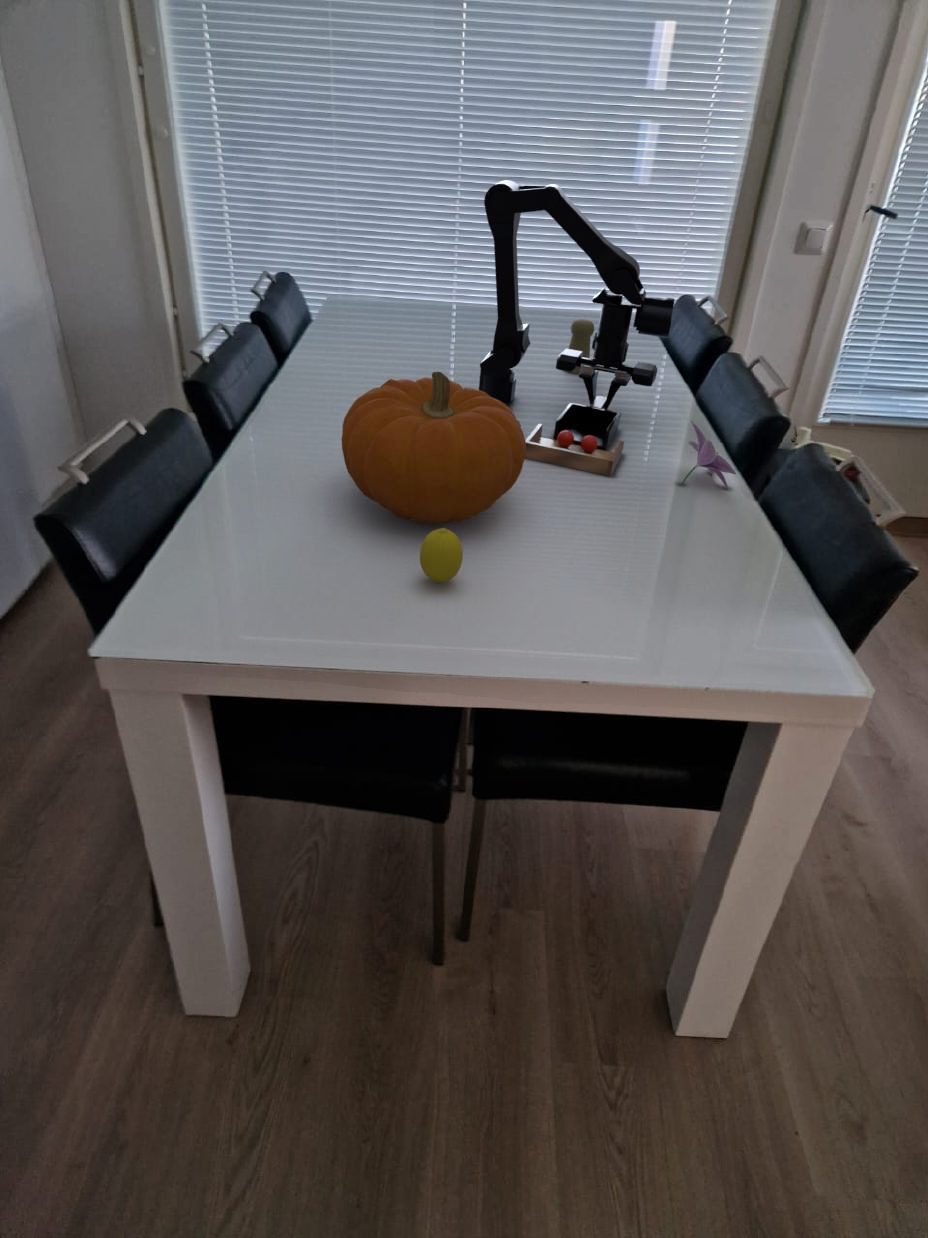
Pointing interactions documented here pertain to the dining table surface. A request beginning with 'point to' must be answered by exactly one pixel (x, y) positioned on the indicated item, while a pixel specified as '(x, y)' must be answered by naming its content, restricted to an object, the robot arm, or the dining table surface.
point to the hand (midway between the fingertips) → (598, 410)
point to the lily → (709, 457)
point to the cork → (581, 338)
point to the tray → (571, 454)
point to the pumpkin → (432, 449)
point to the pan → (589, 422)
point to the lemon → (441, 555)
